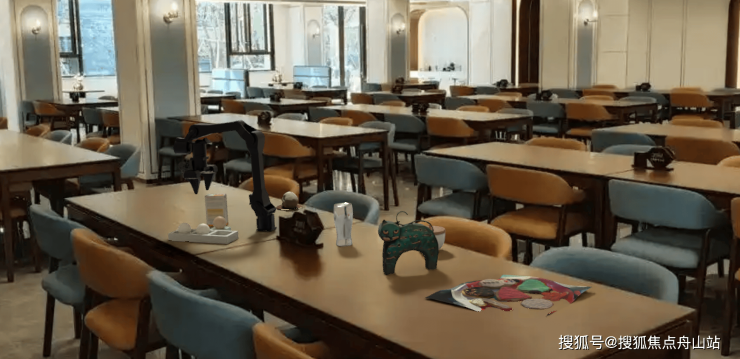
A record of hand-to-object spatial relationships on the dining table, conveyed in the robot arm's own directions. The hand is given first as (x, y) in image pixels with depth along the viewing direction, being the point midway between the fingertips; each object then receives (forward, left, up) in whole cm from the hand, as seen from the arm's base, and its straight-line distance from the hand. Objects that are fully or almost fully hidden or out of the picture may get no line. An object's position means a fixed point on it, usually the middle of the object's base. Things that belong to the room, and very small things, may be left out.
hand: (201, 192), depth 333 cm
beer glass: (-67, +17, -15) cm, 71 cm away
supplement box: (-4, -4, -15) cm, 16 cm away
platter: (-134, +65, -15) cm, 150 cm away
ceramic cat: (-99, +46, -15) cm, 110 cm away
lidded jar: (-100, +19, -15) cm, 103 cm away
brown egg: (-12, +9, -13) cm, 20 cm away
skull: (-20, -44, -15) cm, 50 cm away
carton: (-11, +20, -15) cm, 27 cm away
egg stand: (-12, +9, -15) cm, 21 cm away
